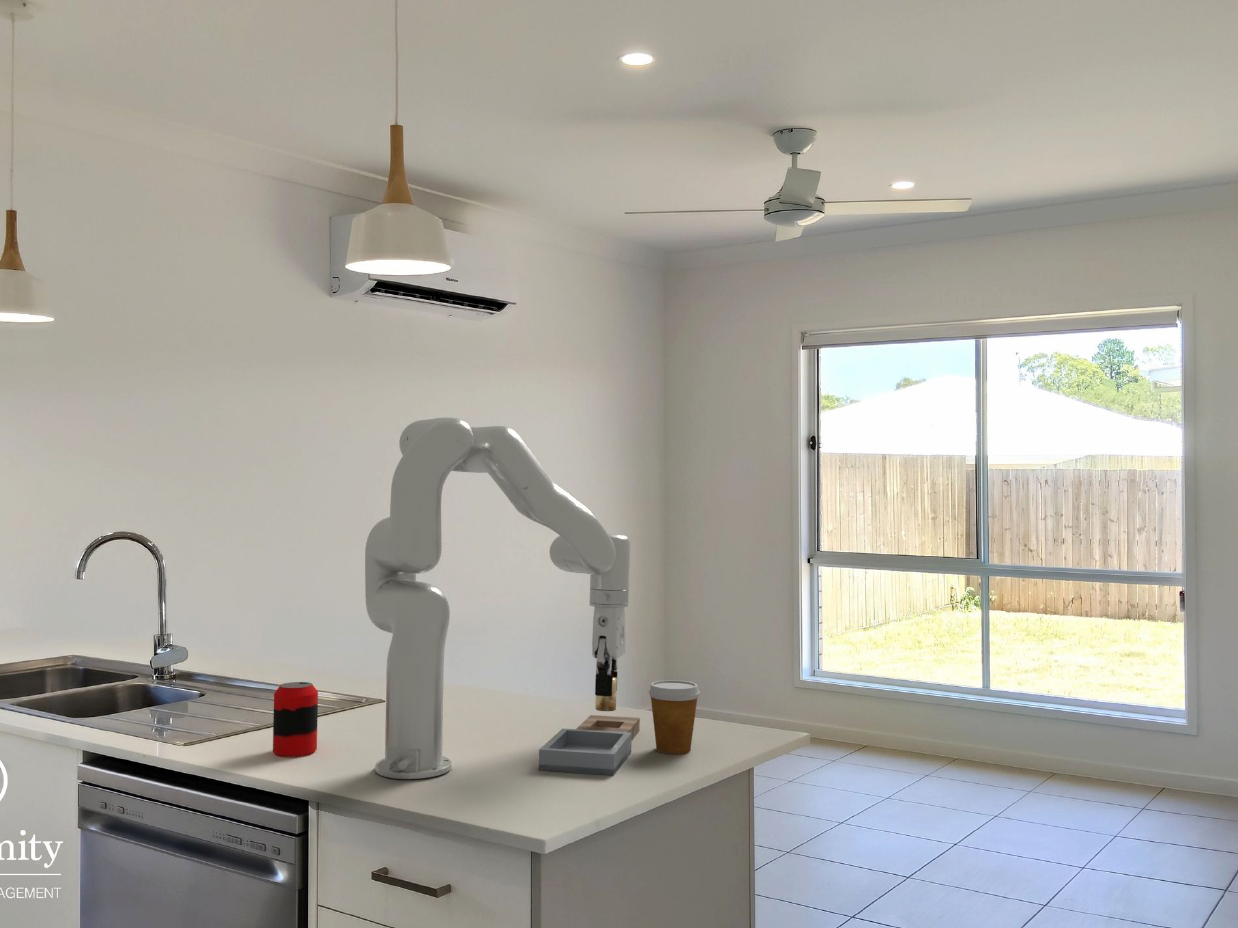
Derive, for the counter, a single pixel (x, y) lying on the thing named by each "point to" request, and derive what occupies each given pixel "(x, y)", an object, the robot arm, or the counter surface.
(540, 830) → the counter surface
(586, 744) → the slate tray
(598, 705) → the pin
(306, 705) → the soda can
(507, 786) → the counter surface
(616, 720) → the block
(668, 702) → the disposable coffee cup
